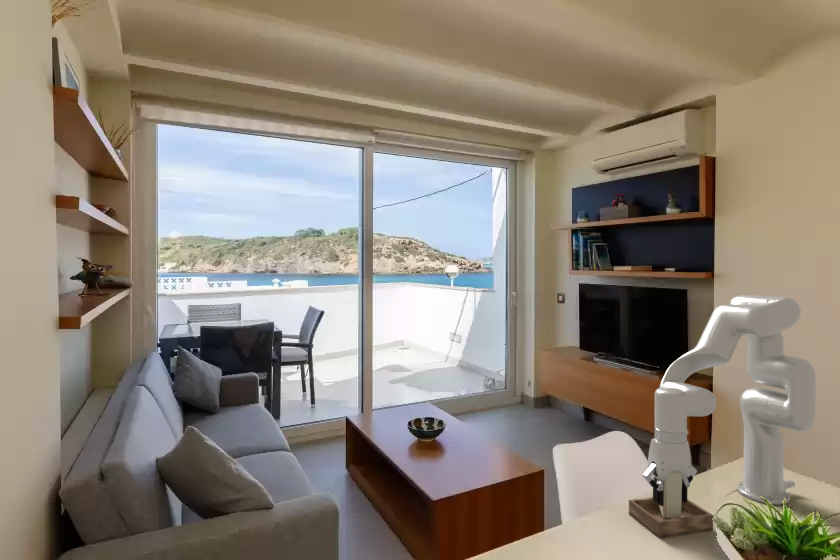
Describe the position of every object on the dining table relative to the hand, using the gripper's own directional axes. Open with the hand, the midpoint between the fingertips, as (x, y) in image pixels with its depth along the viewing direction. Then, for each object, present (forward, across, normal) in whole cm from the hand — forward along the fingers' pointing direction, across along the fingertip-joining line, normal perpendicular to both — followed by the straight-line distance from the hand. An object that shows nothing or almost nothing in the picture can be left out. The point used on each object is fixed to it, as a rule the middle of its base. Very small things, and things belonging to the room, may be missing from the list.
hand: (670, 501), depth 121 cm
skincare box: (+3, 0, 0) cm, 3 cm away
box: (+6, 0, 0) cm, 6 cm away
